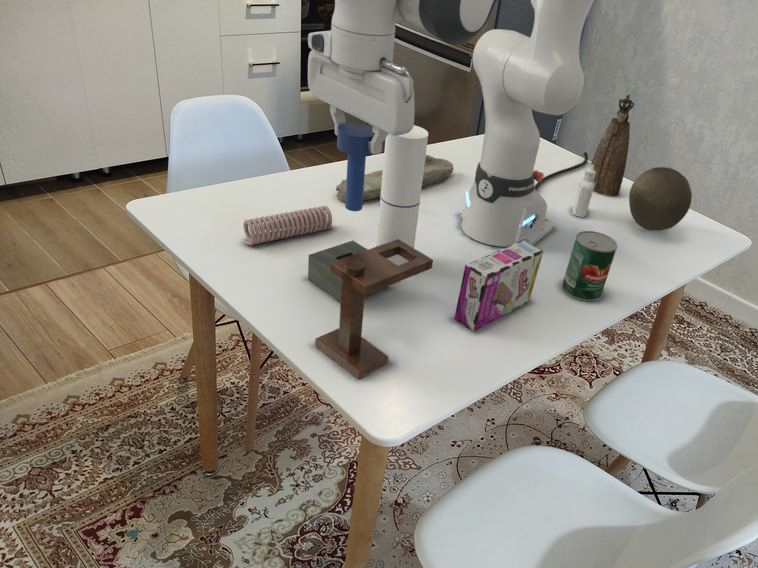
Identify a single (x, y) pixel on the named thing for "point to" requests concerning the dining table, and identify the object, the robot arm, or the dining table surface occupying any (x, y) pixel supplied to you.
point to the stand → (357, 281)
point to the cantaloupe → (659, 198)
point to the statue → (613, 152)
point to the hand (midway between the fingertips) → (357, 144)
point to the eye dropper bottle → (584, 193)
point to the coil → (287, 224)
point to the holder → (321, 267)
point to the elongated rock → (373, 181)
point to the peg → (354, 160)
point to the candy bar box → (497, 284)
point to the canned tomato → (589, 265)
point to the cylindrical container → (401, 188)
